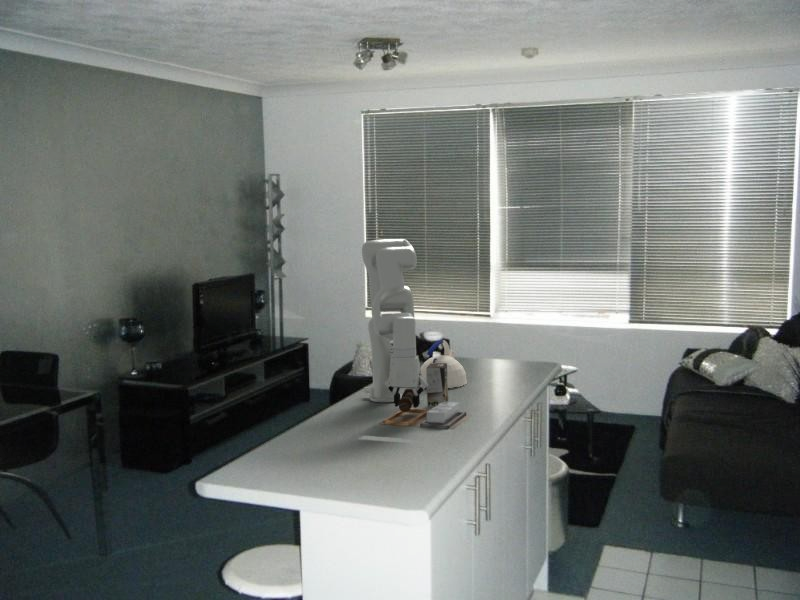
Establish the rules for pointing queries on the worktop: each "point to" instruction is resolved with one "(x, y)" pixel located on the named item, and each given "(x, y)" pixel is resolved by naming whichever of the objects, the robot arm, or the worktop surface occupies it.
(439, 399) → the coffee box
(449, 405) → the bar
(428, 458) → the worktop surface
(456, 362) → the kettle
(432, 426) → the wooden tray
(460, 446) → the worktop surface
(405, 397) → the bolt
